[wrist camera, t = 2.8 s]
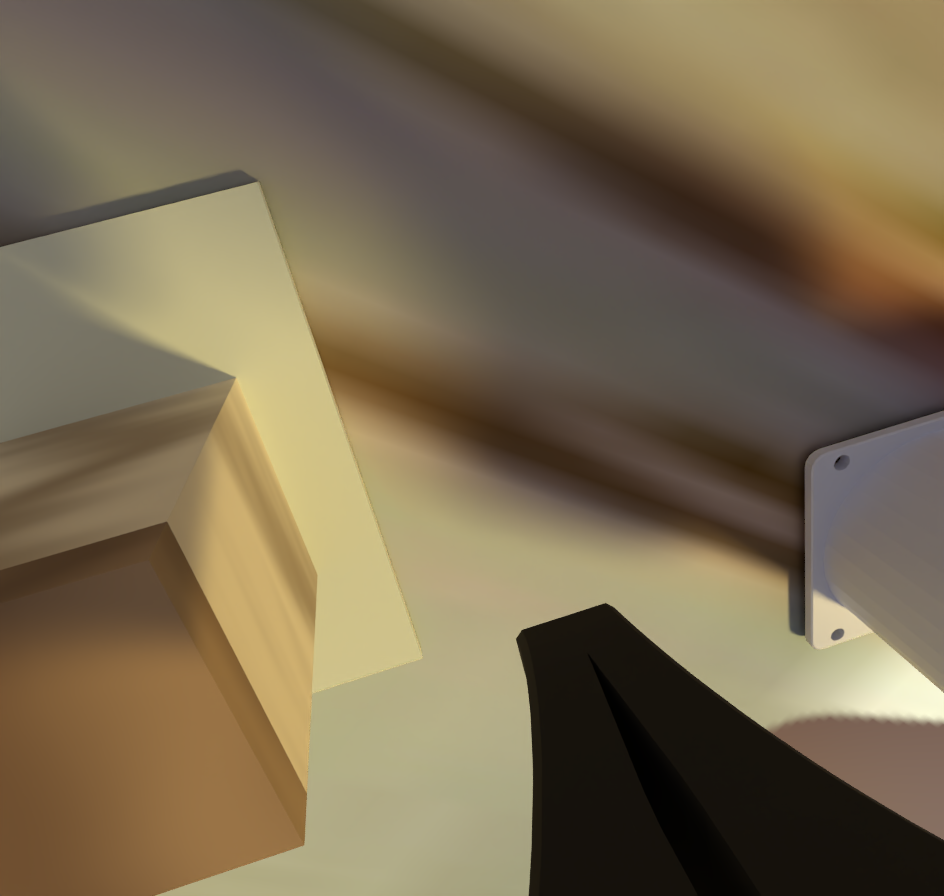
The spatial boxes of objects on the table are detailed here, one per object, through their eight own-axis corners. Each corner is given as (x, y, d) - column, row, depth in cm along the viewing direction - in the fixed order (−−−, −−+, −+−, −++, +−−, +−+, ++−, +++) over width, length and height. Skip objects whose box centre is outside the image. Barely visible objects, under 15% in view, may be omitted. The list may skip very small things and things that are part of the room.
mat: (259, 181, 14) (257, 181, 14) (421, 649, 20) (422, 658, 20) (-623, 405, 13) (-650, 412, 13) (-170, 837, 19) (-180, 849, 19)
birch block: (236, 377, 16) (148, 559, 8) (317, 575, 18) (304, 845, 11) (-17, 447, 15) (-342, 705, 8) (103, 640, 18) (-59, 967, 10)
